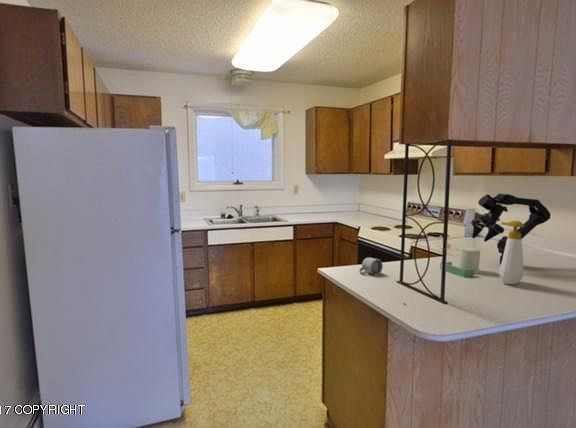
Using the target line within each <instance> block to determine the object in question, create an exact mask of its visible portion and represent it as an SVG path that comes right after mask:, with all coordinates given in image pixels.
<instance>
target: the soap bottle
mask: <svg viewBox="0 0 576 428" xmlns="http://www.w3.org/2000/svg"><path fill="white" fill-rule="evenodd" d="M500 224H501V226H502V225H503V226H508V227H513V230H511V231H509V232H508V236H507V237H508V238H507V242H506V246H505V250H504V255H503V259H502V263H501V264H500V267H499V278H500V279H501V281H502V283H504V284H506V285H509V286H512V285H517V284H519V283H520V282H521V281H522V279H523V276H524V272H525V271H524V257H523V256H524V254H523V253H524V252H523V239H521V233H520V232H517V230H518V228H520V227H524V225H523V224H524V223H523V222H521V221H519V220H511V221H508V222H505V221H502V222H500Z"/></svg>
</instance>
